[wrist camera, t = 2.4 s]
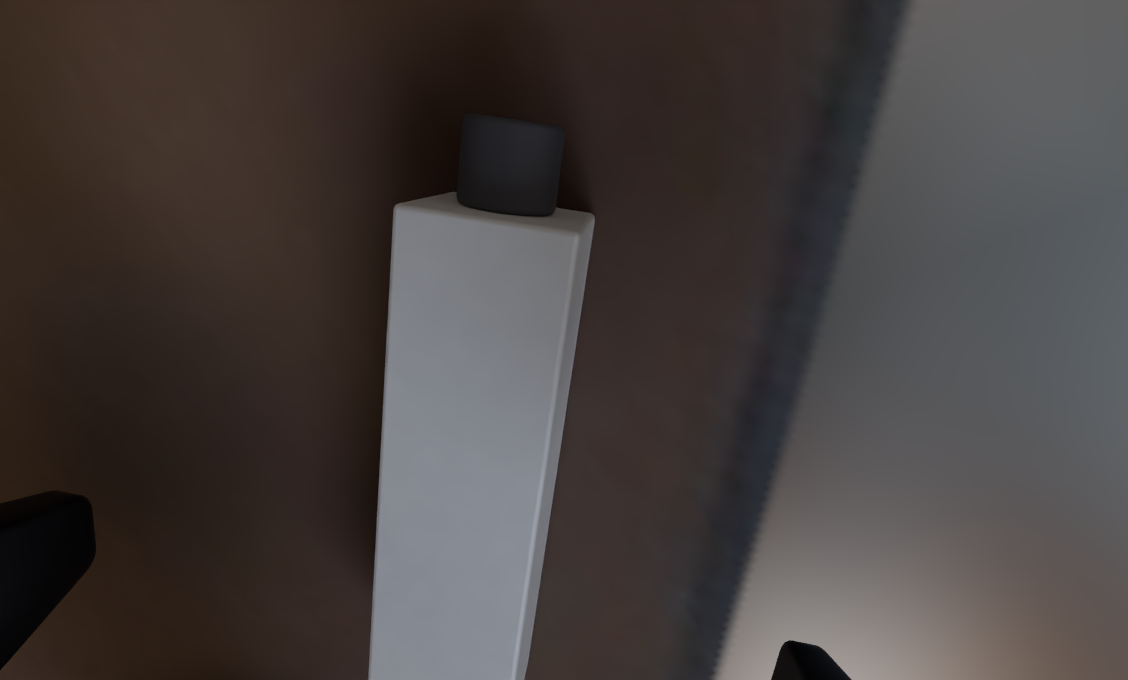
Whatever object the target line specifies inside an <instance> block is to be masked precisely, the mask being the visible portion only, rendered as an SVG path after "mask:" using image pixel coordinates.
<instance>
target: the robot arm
mask: <svg viewBox="0 0 1128 680" xmlns="http://www.w3.org/2000/svg"><path fill="white" fill-rule="evenodd" d="M95 554H96V540H95V530H94V520H93V511H92V505H91V503H90V501H89V500H88V498H86V497H84V496H82V495H78V494H73V493H68V492H63V491H49V492H45V493H41V494H37V495H32V496H28V497H24V498H20V499H16V500H12V501H8V502H4V503H0V670H1V669H2V668H3V666H4V665H5V664H6V663H7V662H8V661H9V660H10V659H11V658H12V656H13V655H14V654H15V653H16V652H17V651H18V650H19V648H20V647H21V646H22V645H23V644H24V643H25V641H26V640H27V639H28V638H29V637H30V636H31V635H32V633H33V632H34V631H35V630H36V629H37V628H38V627H39V625H40V624H41V623H42V622H43V621H44V620H45V618H46V617H47V616H48V615H49V614H50V613H51V612H52V610H53V609H54V608H55V607H56V606H57V605H58V603H59V602H60V601H61V600H62V599H63V598H64V597H65V595H66V594H67V593H68V592H69V591H70V590H71V588H72V587H73V586H74V585H75V584H76V583H77V582H78V580H79V579H80V578H81V577H82V576H83V575H84V574H85V572H86V571H87V570H88V569H89V567H90V566H91V564H92V562H93V560H94V557H95ZM771 680H851V679H850V678H849V677H848V675H847V674H846V673H845V672H844V671H843V670H842V669H841V668H840V667H839V666H838V665H837V664H836V662H834V660H833V659H832V658H831V657H830V656H829V655H828V654H827V653H826V652H825V651H824V650H823V649H822V648H820V647H819V646H816V645H811V644H806V643H801V642H796V641H787V642H785V643H784V644H783V646H782V647H781V650H780V652H779V656H778V659H777V662H776V666H775V669H774V673H773V676H772V679H771Z"/></svg>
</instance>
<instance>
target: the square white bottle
mask: <svg viewBox="0 0 1128 680" xmlns="http://www.w3.org/2000/svg"><path fill="white" fill-rule="evenodd" d="M564 142H565V130H564V128H562V127H561V126H557V125H552V124H546V123H539V122H533V121H526V120H520V119H513V118H506V117H499V116H492V115H484V114H476V113H468V114H465V116H464V118H463V121H462V133H461V145H460V157H459V169H458V181H457V192H449V193H445V194H440V195H436V196H431V197H426V198H422V199H417V200H413V201H408V202H403V203H399V204H396V205H395V207H394V210H393V229H392V247H391V266H390V285H389V303H388V322H387V340H386V359H385V377H384V396H383V414H382V433H381V451H380V470H379V488H378V507H377V525H376V544H375V563H374V581H373V600H372V618H371V637H370V655H369V674H368V680H524V677H525V673H526V669H527V665H528V659H529V653H530V646H531V639H532V633H533V626H534V620H535V613H536V606H537V600H538V593H539V587H540V580H541V573H542V567H543V560H544V553H545V547H546V540H547V534H548V527H549V520H550V514H551V507H552V501H553V494H554V487H555V481H556V474H557V467H558V461H559V454H560V448H561V441H562V434H563V428H564V421H565V414H566V408H567V401H568V395H569V388H570V381H571V375H572V368H573V362H574V355H575V348H576V342H577V335H578V328H579V322H580V315H581V309H582V302H583V295H584V289H585V282H586V276H587V269H588V262H589V256H590V249H591V242H592V236H593V229H594V223H595V217H594V215H593V214H591V213H587V212H581V211H574V210H568V209H561V208H556V203H557V195H558V188H559V180H560V172H561V165H562V157H563V150H564Z"/></svg>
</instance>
